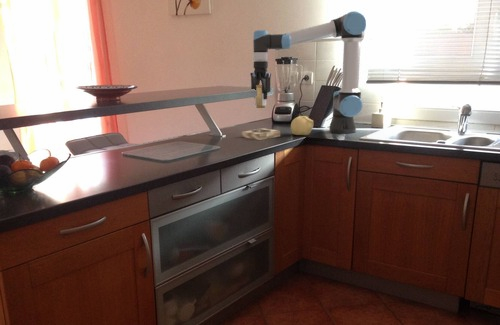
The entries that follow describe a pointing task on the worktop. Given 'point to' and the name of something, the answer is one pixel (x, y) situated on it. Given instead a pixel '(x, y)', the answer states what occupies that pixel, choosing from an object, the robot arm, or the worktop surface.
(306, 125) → the pale yellow round lump
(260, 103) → the bushing
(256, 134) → the jig
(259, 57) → the robot arm
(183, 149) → the worktop surface
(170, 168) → the worktop surface
